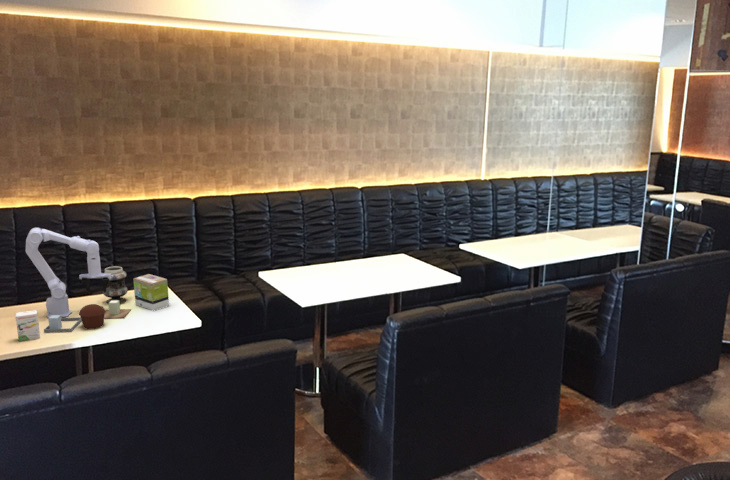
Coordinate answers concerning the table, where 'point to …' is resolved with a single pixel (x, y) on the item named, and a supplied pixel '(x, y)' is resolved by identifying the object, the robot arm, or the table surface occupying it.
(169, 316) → the table surface
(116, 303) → the sage block
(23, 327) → the ink box
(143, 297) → the tea box
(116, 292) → the apothecary jar
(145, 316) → the table surface
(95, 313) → the muffin
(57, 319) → the blue block
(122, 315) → the walnut board
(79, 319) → the parts tray
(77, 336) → the table surface
